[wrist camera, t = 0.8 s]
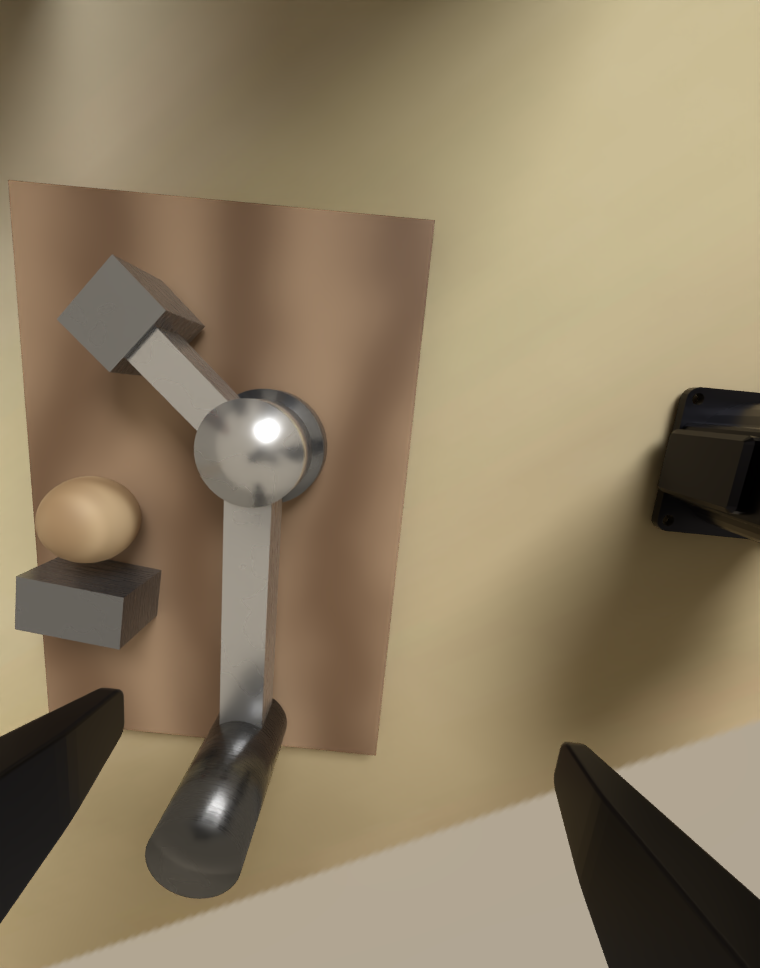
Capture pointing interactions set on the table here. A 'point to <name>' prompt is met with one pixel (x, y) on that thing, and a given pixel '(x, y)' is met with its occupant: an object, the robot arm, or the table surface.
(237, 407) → the lever
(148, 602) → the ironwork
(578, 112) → the table surface
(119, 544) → the tan ball
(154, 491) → the board
